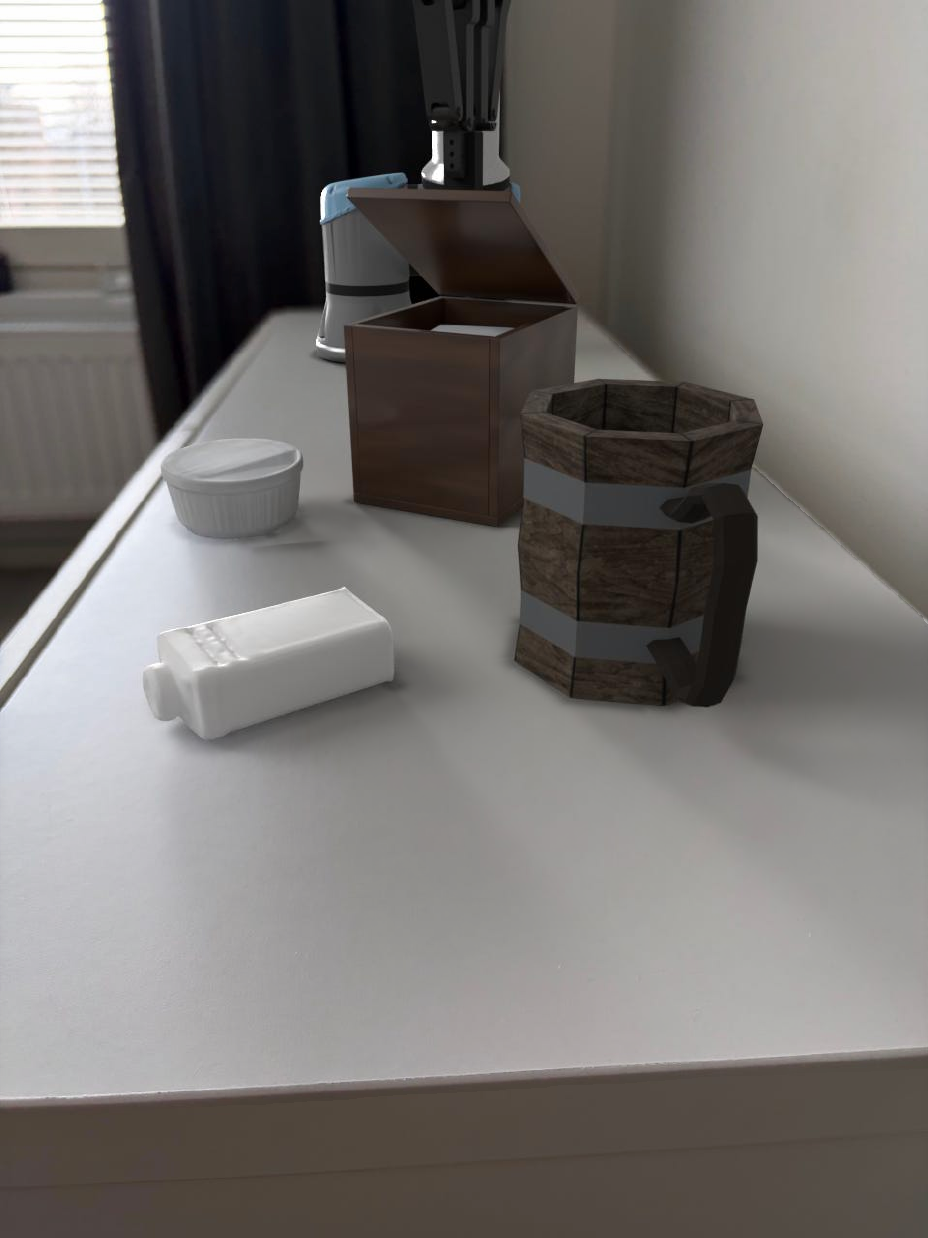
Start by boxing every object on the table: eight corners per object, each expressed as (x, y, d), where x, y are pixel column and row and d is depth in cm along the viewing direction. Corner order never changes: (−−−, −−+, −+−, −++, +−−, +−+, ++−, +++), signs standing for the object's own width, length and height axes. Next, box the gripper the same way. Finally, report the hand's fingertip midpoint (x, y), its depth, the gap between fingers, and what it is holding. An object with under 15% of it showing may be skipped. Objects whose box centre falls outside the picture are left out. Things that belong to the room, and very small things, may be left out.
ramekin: (280, 550, 73) (273, 483, 71) (144, 540, 75) (133, 475, 73) (325, 500, 83) (321, 440, 81) (204, 493, 85) (196, 434, 82)
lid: (509, 202, 68) (512, 190, 68) (345, 197, 73) (348, 186, 73) (577, 304, 84) (579, 295, 84) (439, 294, 89) (441, 286, 89)
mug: (487, 611, 64) (489, 384, 57) (678, 592, 66) (701, 372, 59) (583, 788, 46) (602, 493, 40) (835, 752, 49) (894, 470, 42)
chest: (497, 527, 77) (499, 338, 71) (353, 501, 83) (343, 324, 76) (570, 468, 91) (578, 305, 84) (442, 450, 96) (440, 295, 89)
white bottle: (137, 703, 54) (124, 636, 52) (344, 641, 60) (339, 579, 58) (175, 760, 49) (162, 688, 47) (395, 686, 55) (393, 620, 53)
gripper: (455, -122, 72) (457, 217, 83) (365, -165, 62) (380, 228, 73) (548, -134, 69) (538, 219, 80) (469, -181, 59) (470, 232, 70)
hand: (463, 223), depth 76 cm, fingers closed
